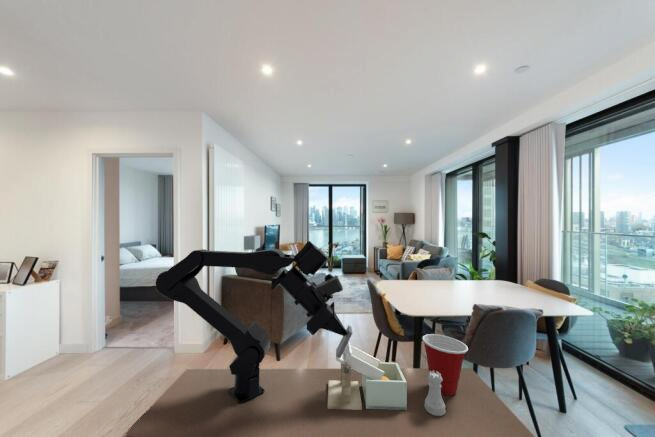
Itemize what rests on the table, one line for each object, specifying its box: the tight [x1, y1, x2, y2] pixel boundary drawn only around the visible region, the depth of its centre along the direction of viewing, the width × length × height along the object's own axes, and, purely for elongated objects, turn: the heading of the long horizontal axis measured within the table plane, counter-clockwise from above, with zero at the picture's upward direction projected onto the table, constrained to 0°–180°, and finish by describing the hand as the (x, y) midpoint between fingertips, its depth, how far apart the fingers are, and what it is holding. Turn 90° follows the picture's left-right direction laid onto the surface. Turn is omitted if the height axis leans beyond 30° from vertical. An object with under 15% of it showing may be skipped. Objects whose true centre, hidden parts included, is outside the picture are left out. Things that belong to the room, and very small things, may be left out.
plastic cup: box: [422, 333, 469, 396], centre depth 68 cm, size 11×11×12 cm
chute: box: [335, 324, 384, 380], centre depth 65 cm, size 11×6×7 cm, turn 87°
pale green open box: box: [361, 361, 408, 411], centre depth 64 cm, size 9×9×6 cm
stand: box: [327, 363, 363, 411], centre depth 65 cm, size 8×10×9 cm
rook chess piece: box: [424, 370, 446, 417], centre depth 60 cm, size 4×4×8 cm
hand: (345, 334), depth 65 cm, fingers closed, pressing on chute
